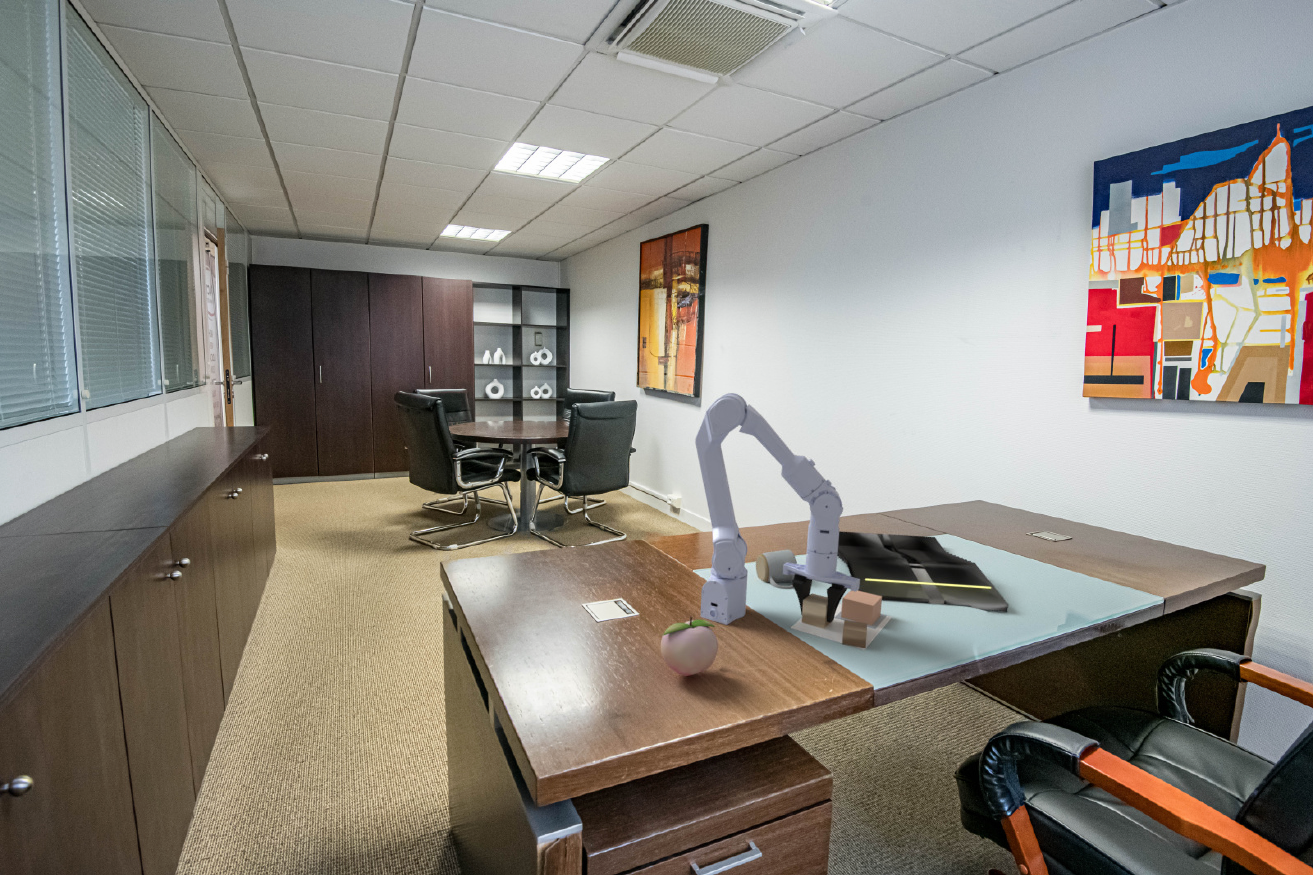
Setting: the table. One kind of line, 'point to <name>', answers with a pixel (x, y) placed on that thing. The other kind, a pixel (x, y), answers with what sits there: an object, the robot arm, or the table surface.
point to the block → (854, 634)
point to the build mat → (841, 628)
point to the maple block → (815, 611)
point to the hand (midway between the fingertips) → (817, 617)
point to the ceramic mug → (775, 567)
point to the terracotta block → (861, 607)
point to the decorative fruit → (689, 646)
